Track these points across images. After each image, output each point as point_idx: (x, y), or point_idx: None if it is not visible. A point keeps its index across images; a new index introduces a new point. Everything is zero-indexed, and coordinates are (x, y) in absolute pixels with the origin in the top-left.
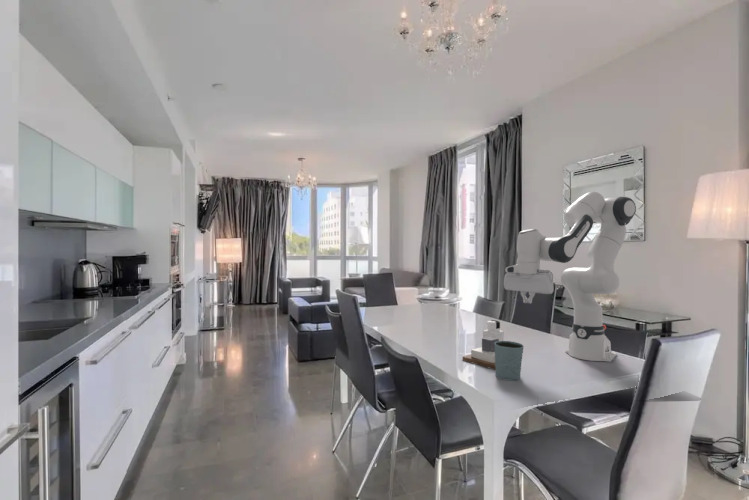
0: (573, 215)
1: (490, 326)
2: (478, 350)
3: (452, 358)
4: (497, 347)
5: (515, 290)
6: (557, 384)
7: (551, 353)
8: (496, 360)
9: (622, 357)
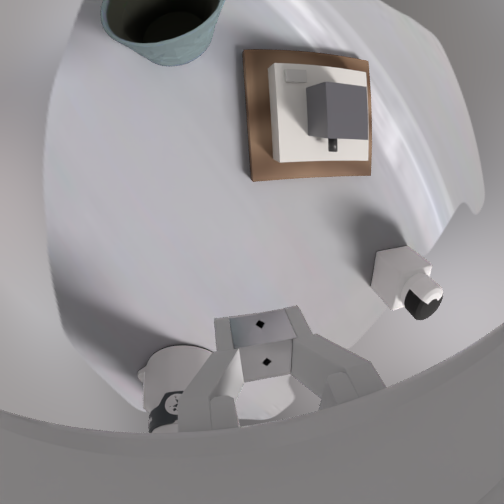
0: None
1: (425, 280)
2: (347, 80)
3: (385, 59)
4: None
5: (454, 355)
6: (60, 111)
7: None
8: None
9: None
